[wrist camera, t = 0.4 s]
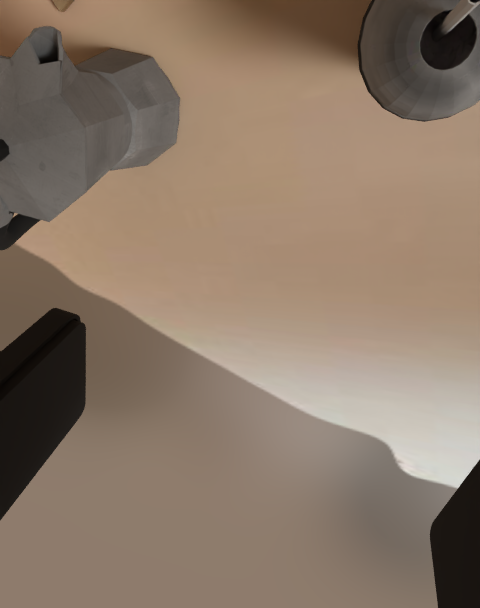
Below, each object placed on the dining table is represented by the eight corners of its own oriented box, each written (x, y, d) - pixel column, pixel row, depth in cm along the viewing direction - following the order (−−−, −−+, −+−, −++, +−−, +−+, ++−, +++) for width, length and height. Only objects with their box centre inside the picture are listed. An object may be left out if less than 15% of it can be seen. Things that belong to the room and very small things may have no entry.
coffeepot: (113, -6, 34) (-89, -40, 19) (215, 70, 35) (98, 93, 20) (54, 162, 43) (-119, 230, 28) (137, 220, 44) (14, 316, 28)
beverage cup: (357, 99, 34) (344, 158, 17) (366, -20, 30) (359, -94, 13) (463, 95, 32) (563, 158, 15) (485, -31, 28) (649, -131, 12)
